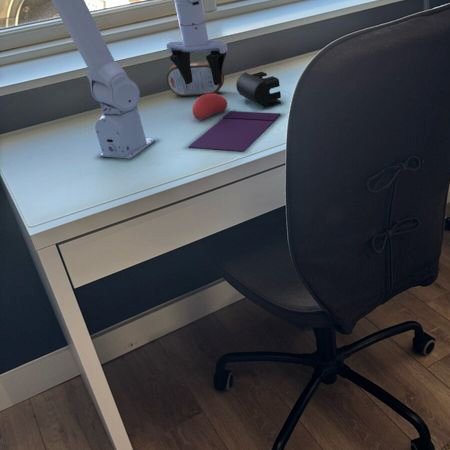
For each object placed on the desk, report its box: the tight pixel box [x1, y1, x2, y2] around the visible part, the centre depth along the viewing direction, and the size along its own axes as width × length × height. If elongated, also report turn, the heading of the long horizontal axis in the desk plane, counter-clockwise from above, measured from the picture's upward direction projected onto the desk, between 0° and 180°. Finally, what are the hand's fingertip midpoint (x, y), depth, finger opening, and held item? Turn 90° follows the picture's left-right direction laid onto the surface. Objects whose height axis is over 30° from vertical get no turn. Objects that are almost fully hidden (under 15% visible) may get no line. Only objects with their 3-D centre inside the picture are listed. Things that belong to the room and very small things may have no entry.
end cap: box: [235, 71, 282, 109], centre depth 137 cm, size 10×7×7 cm
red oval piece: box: [191, 93, 228, 121], centre depth 134 cm, size 5×9×6 cm, turn 126°
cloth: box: [188, 110, 282, 153], centre depth 125 cm, size 20×13×1 cm, turn 159°
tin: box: [165, 60, 225, 97], centre depth 147 cm, size 15×3×8 cm, turn 84°
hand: (203, 83), depth 131 cm, fingers open, 7 cm apart
